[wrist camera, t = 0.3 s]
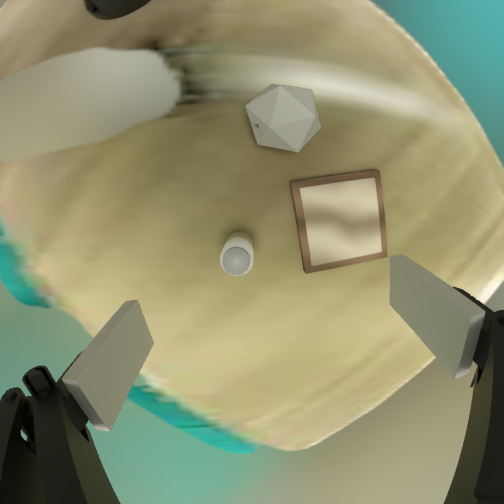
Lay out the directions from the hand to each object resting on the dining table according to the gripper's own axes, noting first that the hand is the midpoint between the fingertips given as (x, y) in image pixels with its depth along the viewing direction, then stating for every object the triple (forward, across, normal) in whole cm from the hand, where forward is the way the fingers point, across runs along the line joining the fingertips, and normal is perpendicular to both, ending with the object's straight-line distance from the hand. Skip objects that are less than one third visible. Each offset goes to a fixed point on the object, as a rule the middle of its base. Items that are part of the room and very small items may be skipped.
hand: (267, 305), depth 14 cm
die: (+27, +6, +13) cm, 30 cm away
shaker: (+27, -3, -4) cm, 27 cm away
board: (+27, +12, -2) cm, 29 cm away
